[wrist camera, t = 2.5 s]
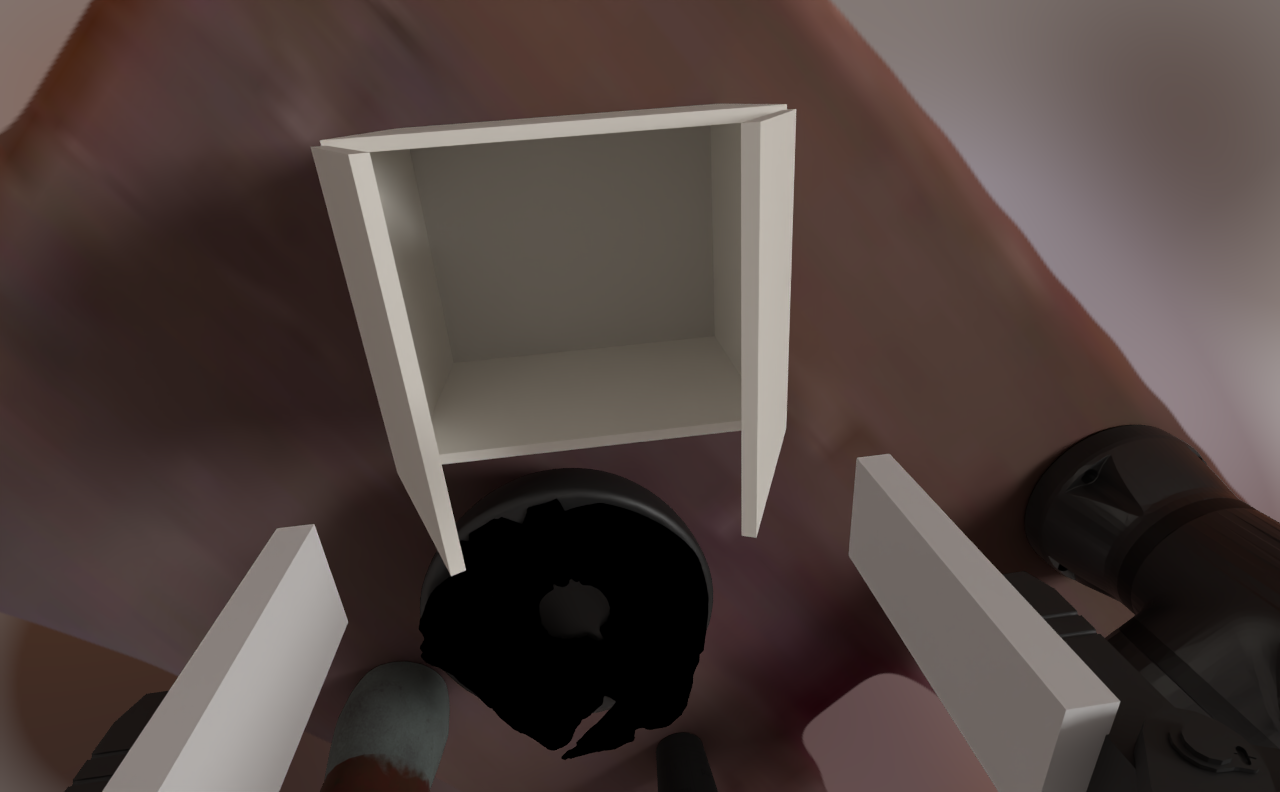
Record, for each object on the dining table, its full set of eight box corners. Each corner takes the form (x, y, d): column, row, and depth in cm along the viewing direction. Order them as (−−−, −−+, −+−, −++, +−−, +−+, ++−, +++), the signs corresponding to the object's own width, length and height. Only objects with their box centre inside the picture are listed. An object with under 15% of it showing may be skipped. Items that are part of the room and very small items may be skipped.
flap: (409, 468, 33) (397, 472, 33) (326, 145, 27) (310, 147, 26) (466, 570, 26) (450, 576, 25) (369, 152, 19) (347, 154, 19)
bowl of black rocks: (713, 580, 57) (777, 782, 40) (499, 646, 58) (473, 874, 41) (650, 385, 49) (698, 537, 32) (401, 464, 49) (315, 657, 32)
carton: (717, 103, 41) (786, 104, 28) (721, 340, 48) (778, 426, 35) (397, 128, 39) (319, 140, 27) (447, 368, 46) (405, 468, 34)
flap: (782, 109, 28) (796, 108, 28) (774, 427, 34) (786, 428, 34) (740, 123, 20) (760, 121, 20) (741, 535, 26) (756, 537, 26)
